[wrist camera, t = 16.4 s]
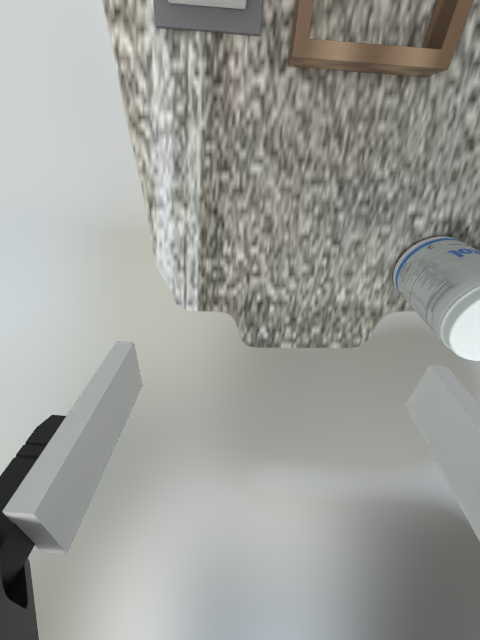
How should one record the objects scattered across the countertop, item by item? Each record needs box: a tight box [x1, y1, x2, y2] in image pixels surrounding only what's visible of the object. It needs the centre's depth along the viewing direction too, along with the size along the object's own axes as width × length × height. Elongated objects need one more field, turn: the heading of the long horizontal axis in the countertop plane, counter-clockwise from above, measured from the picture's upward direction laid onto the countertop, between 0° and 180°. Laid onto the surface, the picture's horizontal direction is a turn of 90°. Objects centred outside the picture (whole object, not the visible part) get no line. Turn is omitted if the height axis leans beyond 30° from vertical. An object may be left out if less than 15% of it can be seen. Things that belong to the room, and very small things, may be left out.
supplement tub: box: [393, 236, 480, 361], centre depth 33 cm, size 10×10×15 cm
